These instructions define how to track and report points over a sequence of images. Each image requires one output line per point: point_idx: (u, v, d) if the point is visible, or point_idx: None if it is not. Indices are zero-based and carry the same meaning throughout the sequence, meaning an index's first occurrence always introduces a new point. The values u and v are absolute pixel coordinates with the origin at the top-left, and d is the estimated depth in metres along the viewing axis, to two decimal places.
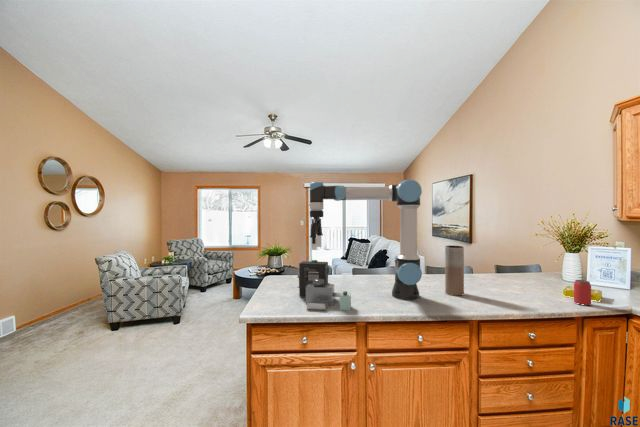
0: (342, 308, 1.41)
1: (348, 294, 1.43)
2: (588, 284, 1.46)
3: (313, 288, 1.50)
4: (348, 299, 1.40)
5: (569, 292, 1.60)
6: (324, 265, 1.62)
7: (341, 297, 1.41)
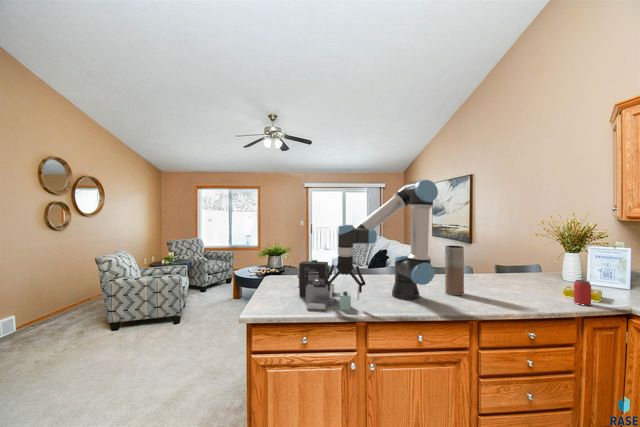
0: (342, 308, 1.41)
1: (348, 294, 1.43)
2: (588, 284, 1.46)
3: (313, 288, 1.50)
4: (348, 299, 1.40)
5: (569, 292, 1.60)
6: (324, 265, 1.62)
7: (341, 297, 1.41)
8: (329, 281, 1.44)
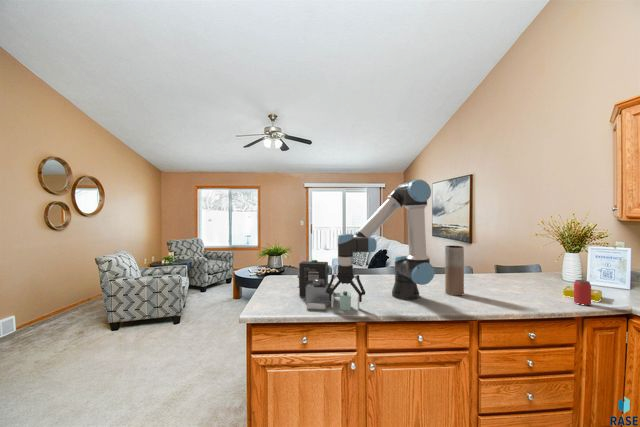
0: (342, 308, 1.41)
1: (348, 294, 1.43)
2: (588, 284, 1.46)
3: (313, 288, 1.50)
4: (348, 299, 1.40)
5: (569, 292, 1.60)
6: (324, 265, 1.62)
7: (341, 297, 1.41)
8: (330, 291, 1.44)
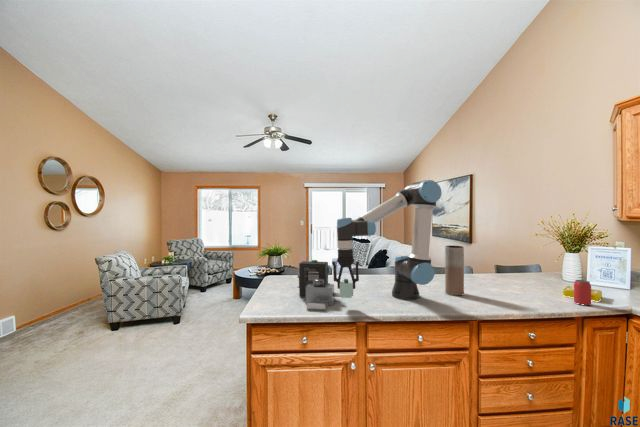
0: (343, 296, 1.41)
1: (349, 282, 1.43)
2: (588, 284, 1.46)
3: (313, 288, 1.50)
4: (349, 286, 1.41)
5: (569, 292, 1.60)
6: (324, 265, 1.62)
7: (342, 285, 1.41)
8: (337, 279, 1.43)
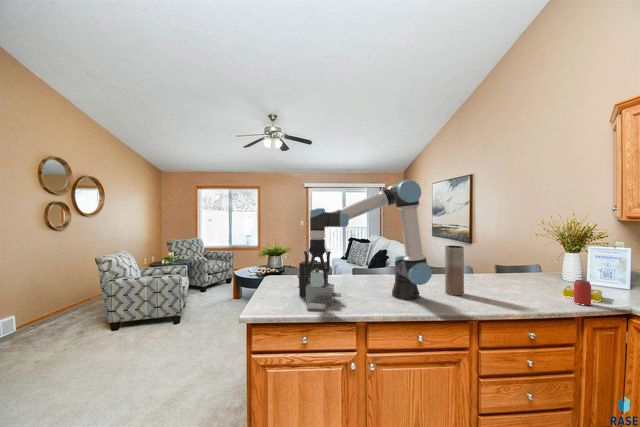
0: (313, 285, 1.43)
1: (320, 271, 1.45)
2: (588, 284, 1.46)
3: (313, 288, 1.50)
4: (319, 276, 1.42)
5: (569, 292, 1.60)
6: None
7: (312, 274, 1.43)
8: (309, 268, 1.45)
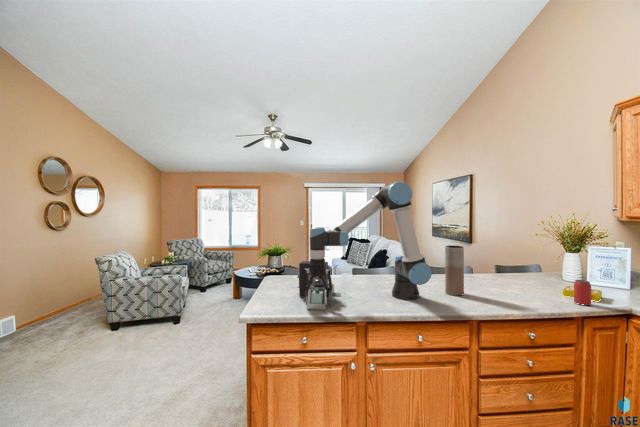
0: None
1: (320, 292, 1.45)
2: (588, 284, 1.46)
3: (313, 288, 1.50)
4: (320, 297, 1.42)
5: (569, 292, 1.60)
6: None
7: (313, 295, 1.43)
8: (306, 287, 1.45)
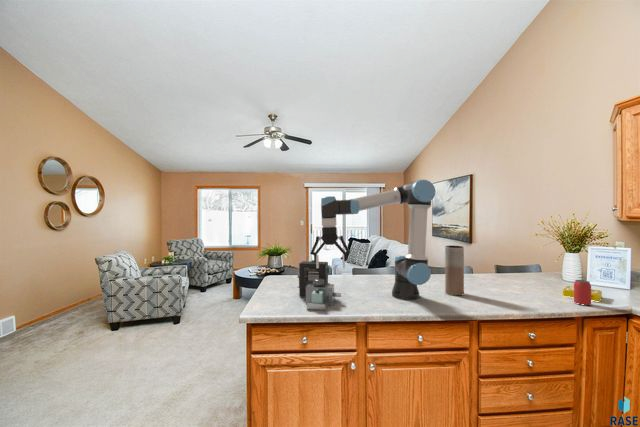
0: None
1: (320, 292, 1.45)
2: (588, 284, 1.46)
3: (313, 288, 1.50)
4: (320, 297, 1.42)
5: (568, 292, 1.60)
6: (324, 265, 1.62)
7: (313, 295, 1.43)
8: (315, 252, 1.48)
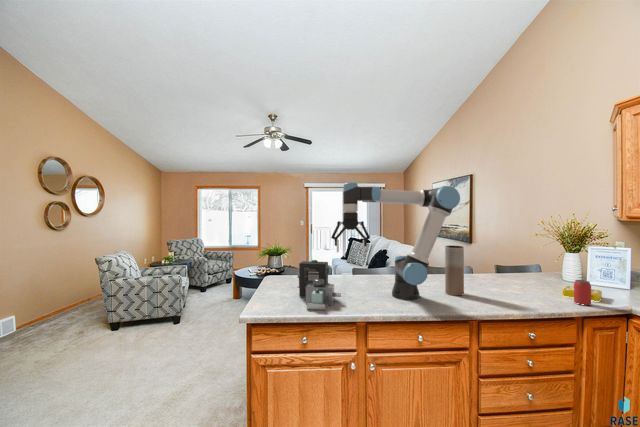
0: None
1: (320, 292, 1.45)
2: (588, 284, 1.46)
3: (313, 288, 1.50)
4: (320, 297, 1.42)
5: (568, 292, 1.60)
6: (324, 265, 1.62)
7: (313, 295, 1.43)
8: (336, 236, 1.52)
